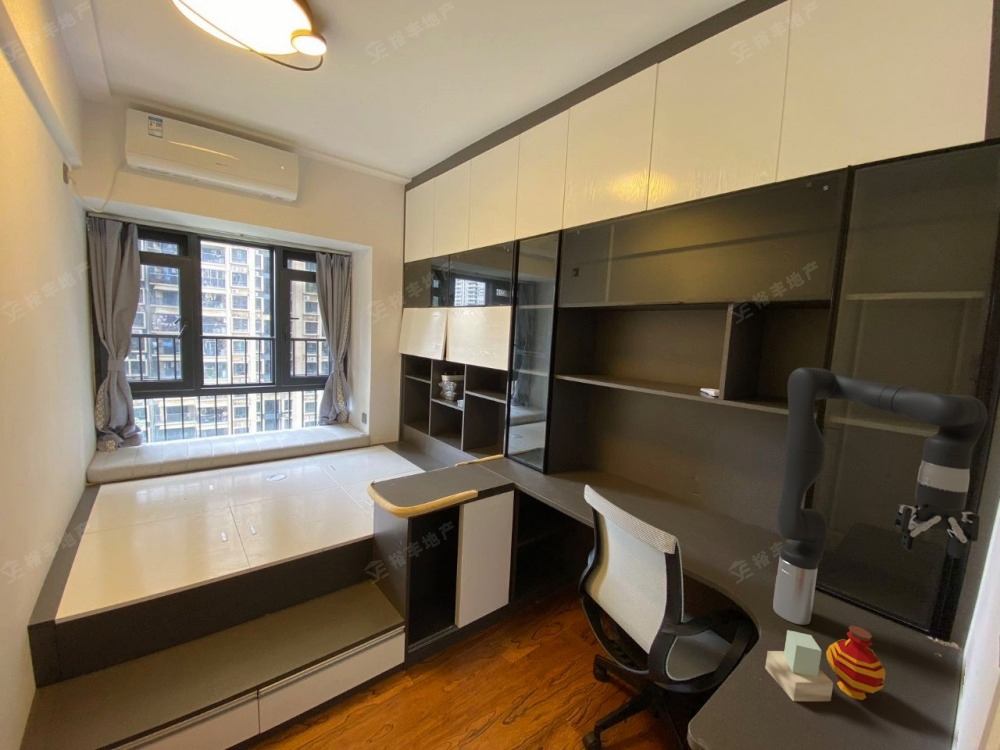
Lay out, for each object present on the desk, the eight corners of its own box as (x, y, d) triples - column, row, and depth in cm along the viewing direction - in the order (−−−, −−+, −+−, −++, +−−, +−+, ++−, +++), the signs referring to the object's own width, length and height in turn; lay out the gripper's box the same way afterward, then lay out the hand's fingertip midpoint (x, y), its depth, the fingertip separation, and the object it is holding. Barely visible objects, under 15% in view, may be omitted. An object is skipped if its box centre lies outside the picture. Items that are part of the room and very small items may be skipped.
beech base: (765, 669, 100) (767, 651, 99) (799, 669, 100) (801, 651, 100) (793, 702, 91) (795, 682, 91) (830, 702, 92) (833, 682, 91)
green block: (783, 656, 98) (787, 630, 97) (807, 661, 97) (811, 635, 96) (792, 672, 93) (796, 645, 92) (817, 678, 92) (821, 650, 91)
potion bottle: (852, 671, 100) (860, 616, 99) (893, 710, 90) (903, 649, 88) (812, 671, 100) (819, 615, 98) (849, 710, 89) (858, 648, 88)
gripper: (964, 481, 90) (952, 549, 92) (891, 474, 93) (881, 540, 94) (998, 494, 83) (985, 567, 84) (918, 486, 85) (907, 557, 87)
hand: (930, 553), depth 89 cm, fingers open, 8 cm apart
